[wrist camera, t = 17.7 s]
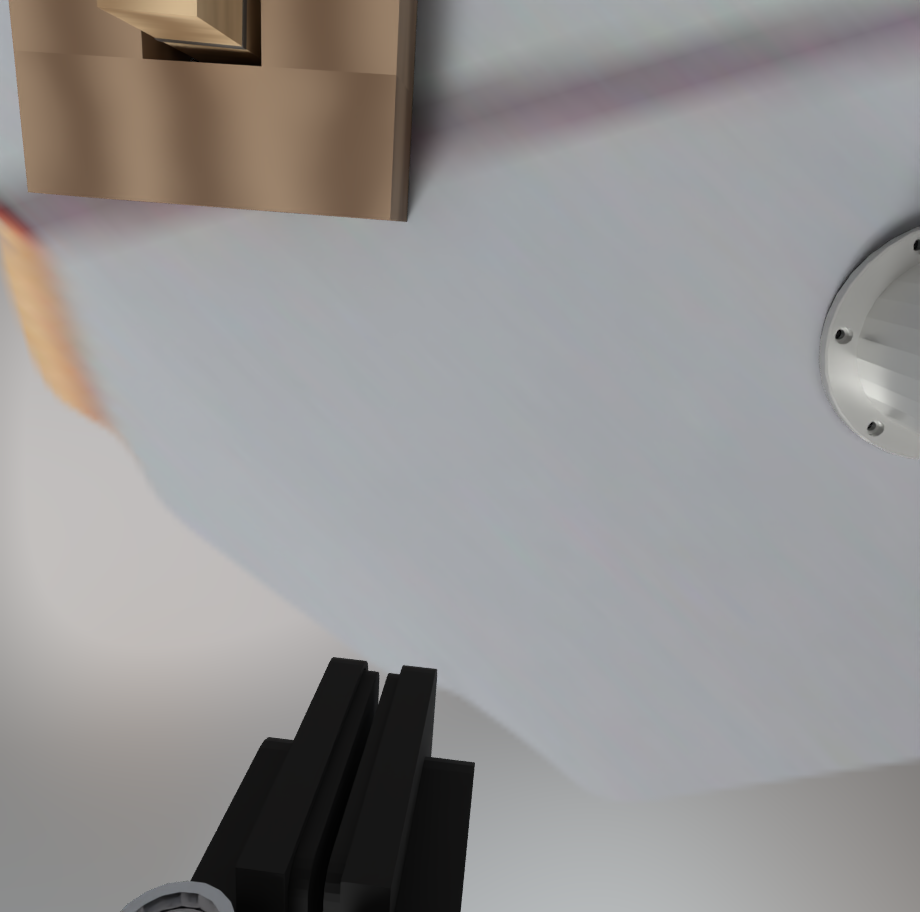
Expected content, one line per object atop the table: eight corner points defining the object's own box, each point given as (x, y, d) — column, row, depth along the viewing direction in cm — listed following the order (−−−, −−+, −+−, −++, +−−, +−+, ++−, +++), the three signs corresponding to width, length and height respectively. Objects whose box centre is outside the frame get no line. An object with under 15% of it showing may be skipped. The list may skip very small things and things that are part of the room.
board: (426, -183, 33) (410, -253, 29) (406, 221, 39) (390, 219, 34) (56, -199, 35) (-19, -268, 30) (87, 197, 40) (28, 191, 35)
